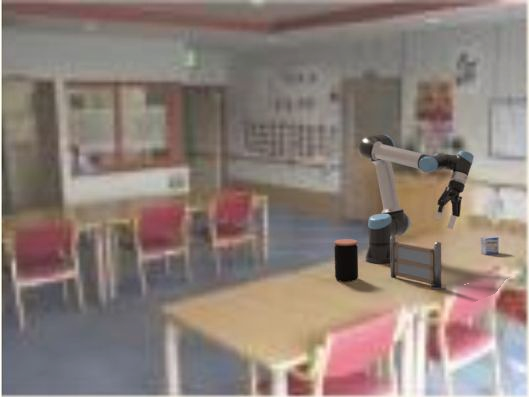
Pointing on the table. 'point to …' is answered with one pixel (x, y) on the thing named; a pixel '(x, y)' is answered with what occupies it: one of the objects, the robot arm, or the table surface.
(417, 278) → the gate leaf
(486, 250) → the medicine box
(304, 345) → the table surface
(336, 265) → the coffee jar
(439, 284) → the hinge post
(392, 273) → the post
